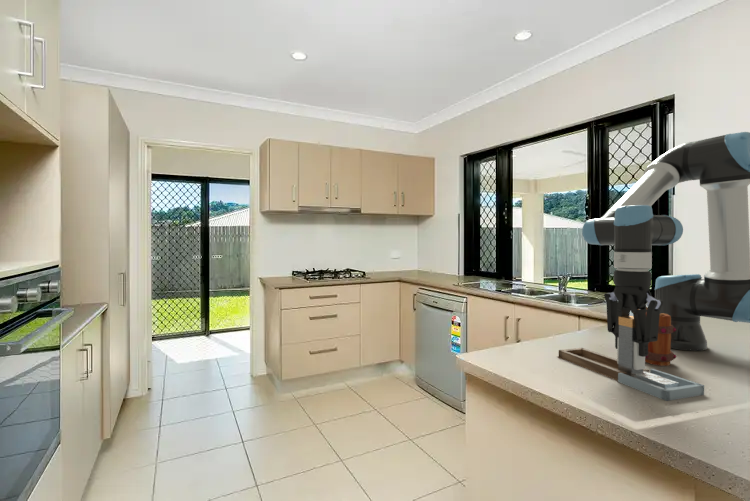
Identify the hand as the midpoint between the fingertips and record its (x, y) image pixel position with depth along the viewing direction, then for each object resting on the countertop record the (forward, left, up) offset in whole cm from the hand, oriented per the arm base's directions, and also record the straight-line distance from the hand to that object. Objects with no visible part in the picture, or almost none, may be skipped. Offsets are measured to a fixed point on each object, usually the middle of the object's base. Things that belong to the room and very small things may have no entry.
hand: (630, 365), depth 90 cm
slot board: (0, -9, -4) cm, 9 cm away
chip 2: (0, +8, -3) cm, 8 cm away
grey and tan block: (0, 0, -2) cm, 2 cm away
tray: (0, +7, -4) cm, 8 cm away
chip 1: (0, +4, -3) cm, 5 cm away
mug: (-19, -10, -4) cm, 22 cm away
